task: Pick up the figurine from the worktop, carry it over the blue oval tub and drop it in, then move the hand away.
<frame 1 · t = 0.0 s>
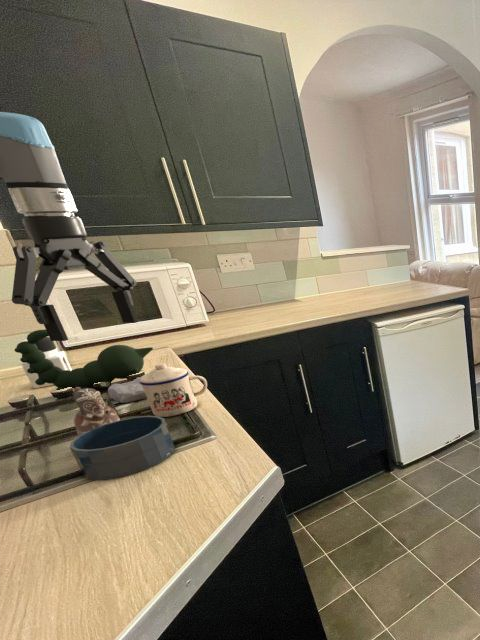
hand: (98, 330, 83), 22 cm above the worktop, tool pointing down, fingers open, 13 cm apart
teacup with lid: (183, 408, 102), on the worktop
container: (55, 382, 122), on the worktop
blue oval tub: (131, 459, 80), on the worktop
figurine: (106, 442, 87), on the worktop
stone block: (145, 395, 111), on the worktop
toy figurine: (106, 388, 116), on the worktop
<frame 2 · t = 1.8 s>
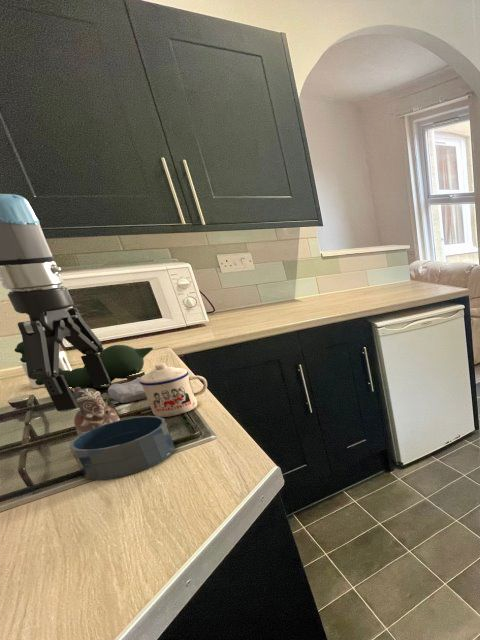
hand: (86, 395, 83), 10 cm above the worktop, tool pointing down, fingers open, 13 cm apart
nothing on the worktop moved.
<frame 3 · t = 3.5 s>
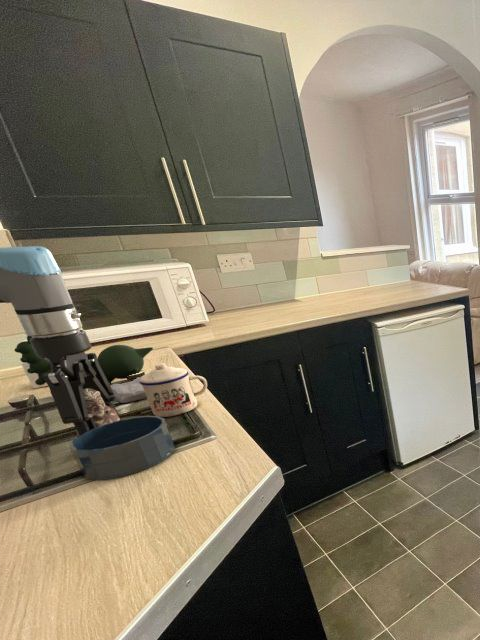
hand: (105, 439, 87), 0 cm above the worktop, tool pointing down, fingers closed on figurine, 7 cm apart
figurine: (106, 442, 87), on the worktop, touching gripper
everything else where it was.
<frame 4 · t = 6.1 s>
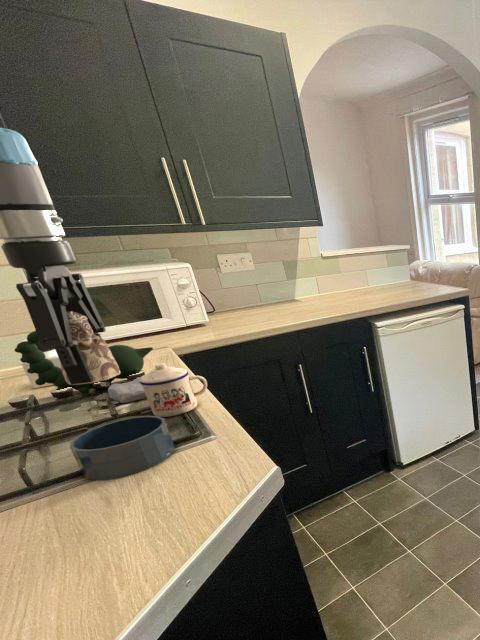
hand: (93, 375, 75), 17 cm above the worktop, tool pointing down, fingers closed on figurine, 7 cm apart
figurine: (95, 378, 75), point 16 cm above the worktop, touching gripper
everything else where it was.
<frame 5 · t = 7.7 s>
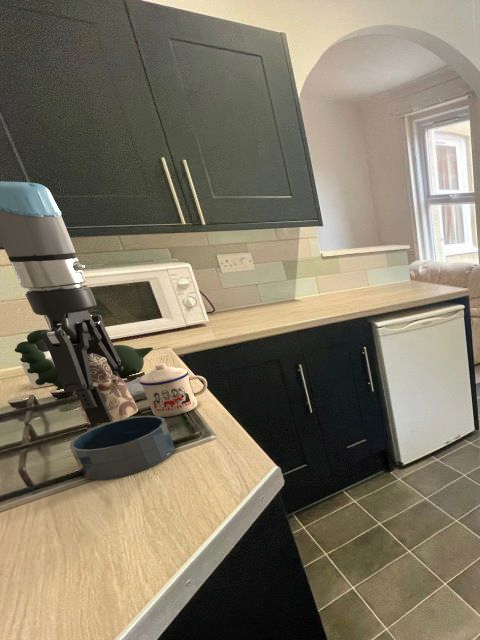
hand: (111, 413, 77), 10 cm above the worktop, tool pointing down, fingers closed on figurine, 7 cm apart
figurine: (113, 416, 77), point 9 cm above the worktop, touching gripper
everything else where it was.
when the fingers open (7 cm above the worktop, at t = 8.9 s): figurine drops 5 cm, resting on blue oval tub.
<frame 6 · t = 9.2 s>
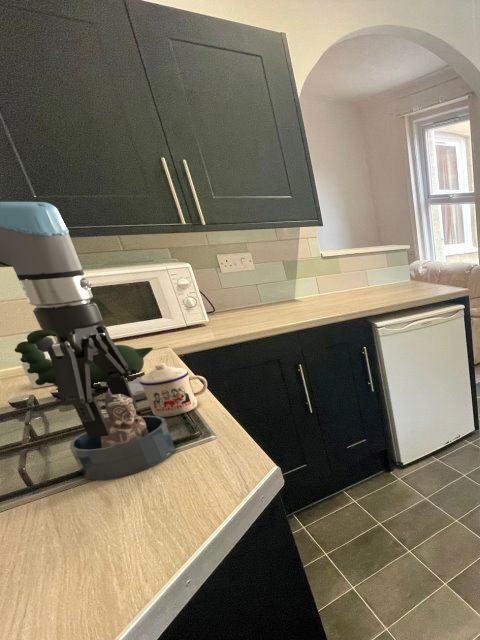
hand: (115, 421, 77), 8 cm above the worktop, tool pointing down, fingers open, 11 cm apart
figurine: (129, 455, 80), point 1 cm above the worktop, touching blue oval tub
everything else where it was.
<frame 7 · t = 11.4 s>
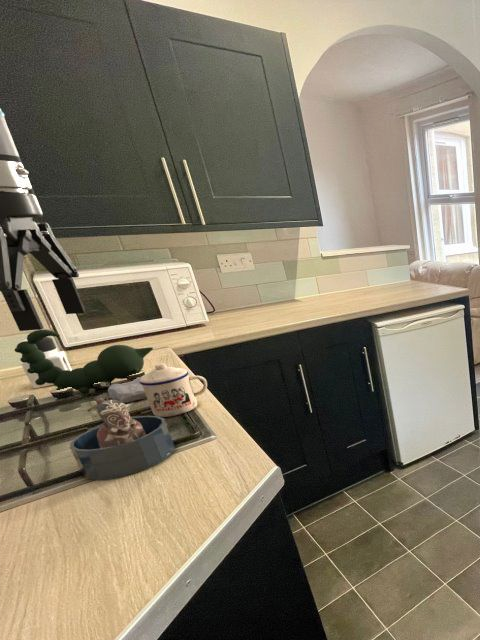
hand: (56, 321, 75), 26 cm above the worktop, tool pointing down, fingers open, 13 cm apart
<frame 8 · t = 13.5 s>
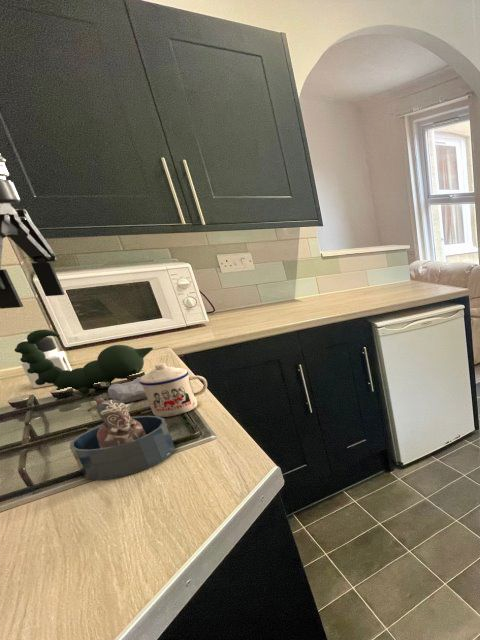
hand: (35, 301, 80), 29 cm above the worktop, tool pointing down, fingers open, 13 cm apart
at the end: figurine inside the target area in the blue oval tub (0.1 cm from its centre), point 0.3 cm above the blue oval tub's base; the gripper is holding nothing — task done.
